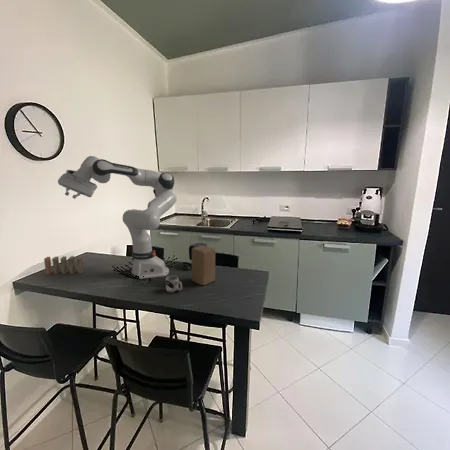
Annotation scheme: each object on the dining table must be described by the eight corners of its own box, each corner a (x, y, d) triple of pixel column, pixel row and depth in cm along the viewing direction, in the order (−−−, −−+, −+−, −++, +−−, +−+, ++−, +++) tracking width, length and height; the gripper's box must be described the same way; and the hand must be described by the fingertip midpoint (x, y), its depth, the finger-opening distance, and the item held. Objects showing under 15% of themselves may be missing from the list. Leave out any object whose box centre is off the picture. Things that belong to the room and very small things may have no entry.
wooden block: (215, 281, 162) (216, 248, 157) (202, 286, 155) (202, 252, 150) (203, 276, 168) (204, 244, 164) (191, 281, 161) (190, 248, 157)
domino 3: (67, 271, 172) (66, 256, 170) (65, 274, 168) (63, 258, 166) (65, 271, 172) (63, 256, 169) (62, 274, 168) (60, 258, 166)
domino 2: (60, 271, 171) (58, 256, 169) (57, 274, 167) (55, 258, 165) (57, 272, 171) (55, 256, 169) (54, 274, 167) (52, 258, 165)
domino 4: (75, 271, 172) (73, 256, 170) (73, 274, 169) (71, 258, 166) (72, 271, 172) (71, 256, 170) (70, 274, 168) (68, 258, 166)
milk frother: (209, 264, 188) (209, 243, 185) (199, 273, 174) (199, 250, 171) (190, 261, 193) (190, 241, 190) (179, 269, 178) (178, 247, 175)
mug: (163, 290, 150) (163, 278, 148) (171, 285, 155) (171, 274, 154) (177, 295, 144) (177, 283, 143) (185, 290, 150) (185, 278, 149)
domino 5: (83, 271, 173) (81, 255, 171) (80, 273, 169) (79, 258, 167) (80, 271, 173) (79, 255, 171) (78, 273, 169) (76, 258, 167)
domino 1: (52, 272, 171) (50, 256, 169) (49, 274, 167) (46, 258, 165) (49, 272, 170) (47, 256, 168) (46, 274, 167) (44, 258, 164)
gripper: (98, 187, 176) (87, 205, 170) (66, 173, 173) (54, 191, 167) (97, 182, 170) (86, 201, 165) (64, 168, 167) (51, 187, 161)
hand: (69, 196), depth 166 cm, fingers open, 3 cm apart
